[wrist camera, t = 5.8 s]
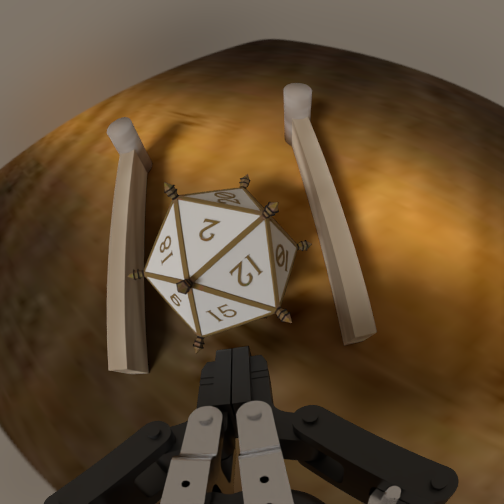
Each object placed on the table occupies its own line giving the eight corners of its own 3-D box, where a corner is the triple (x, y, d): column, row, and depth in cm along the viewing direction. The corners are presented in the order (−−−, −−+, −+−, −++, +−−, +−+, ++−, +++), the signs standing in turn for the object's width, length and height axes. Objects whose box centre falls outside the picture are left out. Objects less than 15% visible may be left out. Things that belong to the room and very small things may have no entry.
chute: (305, 128, 25) (307, 81, 20) (368, 339, 17) (396, 321, 13) (131, 161, 25) (109, 121, 21) (126, 374, 18) (83, 366, 13)
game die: (216, 291, 24) (131, 186, 19) (321, 248, 21) (249, 115, 16) (200, 397, 16) (63, 278, 11) (347, 357, 14) (238, 174, 9)
